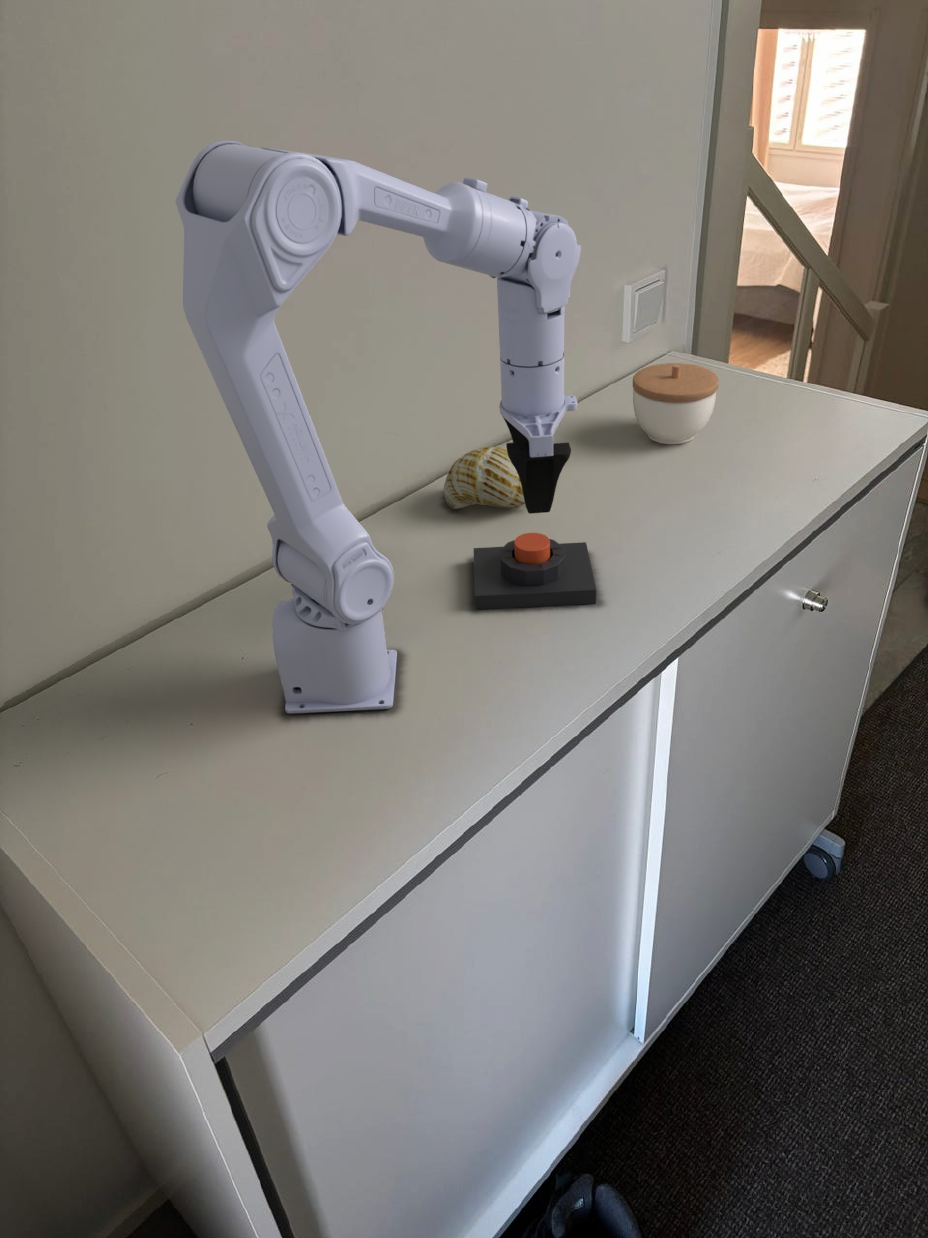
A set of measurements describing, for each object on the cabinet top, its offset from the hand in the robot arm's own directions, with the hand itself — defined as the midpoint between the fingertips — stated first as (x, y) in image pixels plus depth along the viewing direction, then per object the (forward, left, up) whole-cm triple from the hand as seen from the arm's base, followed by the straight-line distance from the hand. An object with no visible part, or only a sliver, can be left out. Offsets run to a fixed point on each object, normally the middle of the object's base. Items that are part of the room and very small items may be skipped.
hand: (534, 491), depth 89 cm
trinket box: (+20, +33, -11) cm, 40 cm away
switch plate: (0, 0, -10) cm, 10 cm away
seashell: (-4, +17, -11) cm, 21 cm away
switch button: (0, 0, -7) cm, 7 cm away
